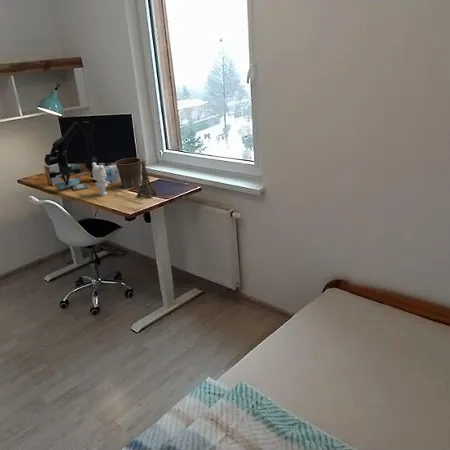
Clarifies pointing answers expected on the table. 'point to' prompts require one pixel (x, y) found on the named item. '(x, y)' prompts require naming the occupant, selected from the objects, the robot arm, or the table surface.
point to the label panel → (80, 187)
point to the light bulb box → (112, 174)
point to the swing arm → (70, 183)
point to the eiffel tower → (145, 184)
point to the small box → (51, 169)
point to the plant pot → (129, 172)
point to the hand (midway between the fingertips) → (67, 185)
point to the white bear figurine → (100, 178)
